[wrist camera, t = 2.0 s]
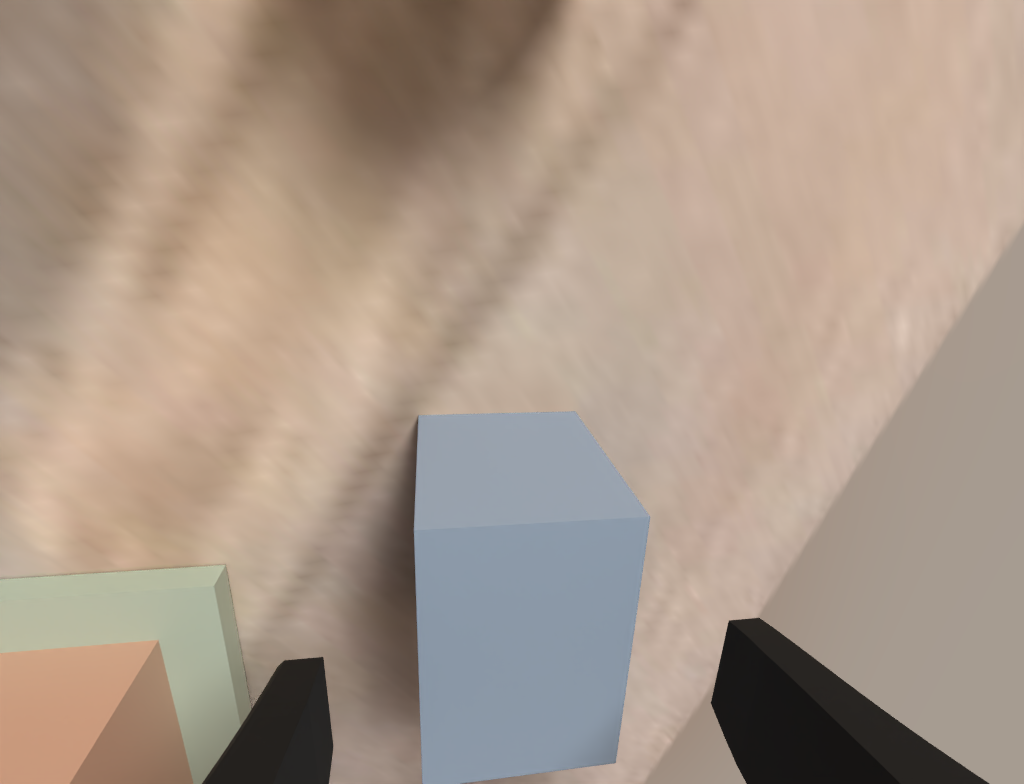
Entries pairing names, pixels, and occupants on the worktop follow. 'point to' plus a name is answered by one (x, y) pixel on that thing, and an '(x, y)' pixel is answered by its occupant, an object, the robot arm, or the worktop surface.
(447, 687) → the blue brick
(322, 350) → the worktop surface
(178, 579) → the tower base
